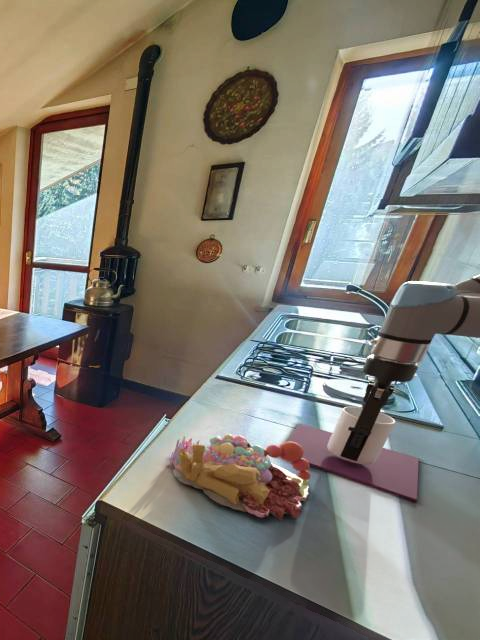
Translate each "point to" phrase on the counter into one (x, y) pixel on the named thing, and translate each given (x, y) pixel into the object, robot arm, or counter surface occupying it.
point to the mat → (384, 474)
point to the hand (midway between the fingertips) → (351, 448)
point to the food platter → (244, 474)
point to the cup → (377, 433)
